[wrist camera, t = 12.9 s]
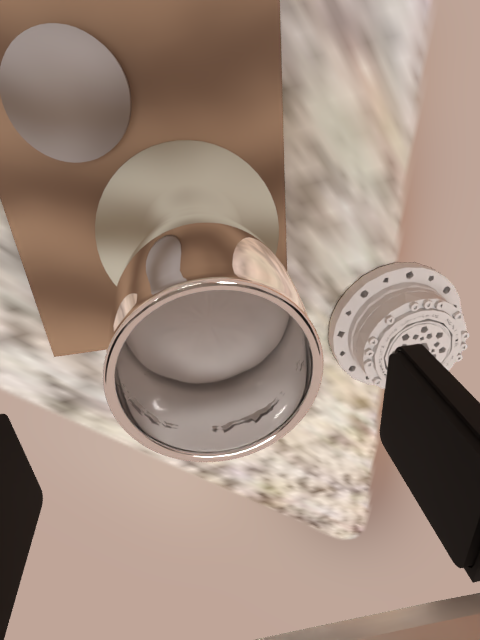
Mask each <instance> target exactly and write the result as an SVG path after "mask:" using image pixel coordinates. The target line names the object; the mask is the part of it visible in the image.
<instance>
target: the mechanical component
mask: <svg viewBox="0 0 480 640" xmlns="http://www.w3.org/2000/svg"><path fill="white" fill-rule="evenodd" d="M468 337H469V333H468V332H467V327H466V324H465V321H464V318H463V314H462V310H461V302H460V297H459V295H458V293H457V291H456V289H455V287H454V285H453V284H452V283H451V282H450V281H449V280H448V279H447V278H446V277H444V276H443V275H442V274H440V273H439V272H437V271H435V270H434V269H432V268H430V267H428V266H425V265H421V264H419V263H414V262H413V263H411V262H409V263H393V264H389V265H386V266H382V267H379V268H377V269H375V270H373V271H371V272H369V273H368V274H366V275H364V276H362V277H361V278H360V279H359V280H358V281H356V282H355V283H354V284H353V285H352V286H351V287H350V288H348V290H347V291H346V292H345V293H344V295H343V296H342V297H341V299H340V300H339V301H338V303H337V305H336V307H335V309H334V311H333V313H332V317H331V320H330V323H329V343H330V347H331V350H332V353H333V355H334V357H335V358H336V360H337V362H338V364H339V365H340V367H341V368H342V369H343V370H344V371H345V372H347V373H348V374H349V375H350V376H351V377H352V378H353V379H355V380H358V381H360V382H363V383H365V384H369V385H376V386H379V387H380V388H382V389H385V384H386V376H387V368H388V360H389V356H390V354H392V353H395V350H396V348H397V347H400V346H406V345H413V344H422V345H423V346H424V347H425V348H426V349H427V350H428V351H429V352H430V353H431V354H432V355H433V356H434V357H435V358H436V359H437V360H438V361H439V362H440V363H441V364H442V365H443V366H444V367H445V368H446V369H447V370H448V371H449V370H450V369H451V368H452V367H453V365H454V363H455V362H458V361H461V360H462V358H463V356H462V355H461V353H462V351H464V350H465V349H467V344H466V343H465V342H466V339H467V338H468Z"/></svg>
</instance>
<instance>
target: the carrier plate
mask: <svg viewBox="0 0 480 640" xmlns="http://www.w3.org/2000/svg"><path fill="white" fill-rule="evenodd" d="M184 184H199V185H204V186H208V187H211V188H213V189H216V190H217V191H219V192H221V193H222V194H224V195H225V196H226V197H227V198H228V199H229V200H230V201H231V202H232V203H233V204H234V206H235V207H236V209H237V210H238V212H239V214H240V217H241V220H242V223H243V226H244V227H246V228H247V229H248V230H250V231H251V232H252V233H253V234H255V235H256V236H257V237H259V238H260V239H261V240H262V241H263V242H264V243H265V244H266V245H267V246H268V247H269V248H270V249H271V250H272V252H273V253H274V254H275V256H276V257H277V258H278V259H279V261H280V262H281V263H282V265H283V266H284V268H285V269H286V271H287V254H286V217H285V180H284V142H283V105H282V68H281V31H280V0H0V199H1V202H2V205H3V207H4V210H5V213H6V216H7V219H8V222H9V225H10V228H11V231H12V234H13V237H14V240H15V243H16V246H17V249H18V252H19V255H20V257H21V260H22V263H23V266H24V269H25V272H26V275H27V278H28V281H29V284H30V287H31V290H32V293H33V296H34V299H35V302H36V305H37V307H38V310H39V313H40V316H41V319H42V322H43V325H44V328H45V331H46V334H47V337H48V340H49V343H50V346H51V349H52V352H53V355H54V357H56V356H63V355H70V354H77V353H84V352H91V351H99V350H106V349H107V337H108V327H109V318H110V313H111V308H112V303H113V298H114V294H115V290H116V287H117V284H118V282H119V279H120V276H121V274H122V271H123V269H124V267H125V265H126V263H127V261H128V259H129V258H130V256H131V255H132V253H133V252H134V250H135V249H136V248H137V246H138V245H139V244H140V242H141V241H142V239H141V229H142V223H143V219H144V216H145V214H146V211H147V210H148V208H149V206H150V205H151V203H152V202H153V201H154V200H155V199H156V198H157V197H158V196H159V195H161V194H162V193H163V192H165V191H167V190H168V189H171V188H173V187H176V186H179V185H184Z"/></svg>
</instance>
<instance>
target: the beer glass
mask: <svg viewBox="0 0 480 640" xmlns="http://www.w3.org/2000/svg"><path fill="white" fill-rule="evenodd" d="M141 239H142V241H141V242H140V244H139V245H138V246H137V248H136V249H135V250H134V252H133V253H132V255H131V256H130V258H129V259H128V261H127V263H126V265H125V267H124V269H123V271H122V274H121V276H120V279H119V282H118V284H117V287H116V290H115V294H114V298H113V303H112V308H111V313H110V318H109V327H108V337H107V352H106V356H105V360H104V367H103V386H104V392H105V396H106V400H107V403H108V405H109V408H110V410H111V412H112V414H113V415H114V417H115V418H116V420H117V421H118V423H119V424H120V425H121V426H122V428H123V429H124V430H125V431H126V432H127V433H128V434H129V435H130V436H131V437H133V438H134V439H135V440H137V441H138V442H139V443H141V444H142V445H144V446H146V447H147V448H149V449H151V450H153V451H155V452H157V453H160V454H162V455H165V456H168V457H172V458H176V459H180V460H186V461H194V462H216V461H225V460H231V459H235V458H239V457H243V456H246V455H249V454H252V453H255V452H257V451H259V450H262V449H264V448H266V447H268V446H269V445H271V444H273V443H275V442H276V441H278V440H279V439H281V438H282V437H283V436H285V435H286V434H287V433H288V432H290V431H291V430H292V429H293V428H294V427H295V426H296V425H297V424H298V423H299V422H300V421H301V420H302V418H303V417H304V416H305V415H306V413H307V412H308V410H309V409H310V407H311V405H312V404H313V402H314V400H315V398H316V396H317V393H318V391H319V388H320V384H321V380H322V375H323V352H322V347H321V343H320V340H319V337H318V334H317V332H316V330H315V328H314V326H313V324H312V323H311V321H310V320H309V317H308V315H307V312H306V310H305V307H304V305H303V303H302V300H301V298H300V296H299V294H298V292H297V289H296V287H295V285H294V284H293V282H292V280H291V278H290V276H289V275H288V273H287V271H286V269H285V268H284V266H283V265H282V263H281V262H280V261H279V259H278V258H277V257H276V256H275V254H274V253H273V252H272V250H271V249H270V248H269V247H268V246H267V245H266V244H265V243H264V242H263V241H262V240H261V239H260V238H259V237H257V236H256V235H255V234H253V233H252V232H251V231H250V230H248V229H247V228H246V227H244V226H243V223H242V220H241V217H240V214H239V212H238V210H237V209H236V207H235V206H234V204H233V203H232V202H231V201H230V200H229V199H228V198H227V197H226V196H225V195H224V194H222V193H221V192H219V191H217V190H216V189H213V188H211V187H208V186H204V185H199V184H184V185H179V186H176V187H173V188H171V189H168V190H167V191H165V192H163V193H162V194H161V195H159V196H158V197H157V198H156V199H155V200H154V201H153V202H152V203H151V205H150V206H149V208H148V210H147V211H146V214H145V216H144V219H143V223H142V229H141Z"/></svg>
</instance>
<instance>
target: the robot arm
mask: <svg viewBox="0 0 480 640" xmlns="http://www.w3.org/2000/svg"><path fill="white" fill-rule="evenodd" d="M380 437H381V441H382V444H383V445H384V447H385V449H386V451H387V452H388V454H389V456H390V457H391V459H392V461H393V462H394V464H395V466H396V467H397V469H398V471H399V472H400V474H401V476H402V477H403V479H404V481H405V482H406V484H407V486H408V487H409V489H410V491H411V492H412V494H413V496H414V497H415V499H416V501H417V502H418V504H419V506H420V507H421V509H422V511H423V512H424V514H425V516H426V517H427V519H428V521H429V522H430V524H431V526H432V527H433V529H434V531H435V532H436V534H437V536H438V537H439V539H440V541H441V542H442V544H443V546H444V547H445V549H446V550H447V552H448V554H449V556H450V557H451V559H452V561H453V562H454V563H455V565H456V566H458V567H459V568H464V569H465V570H466V572H467V574H468V575H469V577H470V579H471V580H472V582H477V581H480V403H479V402H478V401H477V400H476V399H475V398H474V397H473V396H472V395H471V394H470V393H469V392H468V391H467V390H466V389H465V388H464V387H463V386H462V384H461V383H460V382H458V380H457V379H456V378H455V377H454V376H453V375H452V374H451V373H450V372H449V371H448V370H447V369H446V368H445V367H444V366H443V365H442V364H441V363H440V362H439V361H438V360H437V359H436V358H435V357H434V356H433V355H432V354H431V353H430V352H429V351H428V350H427V349H426V348H425V347H424V346H423V345H422V344H413V345H406V346H400V347H397V348H396V350H395V353H392V354H390V356H389V360H388V368H387V376H386V384H385V392H384V401H383V409H382V417H381V425H380ZM42 501H43V495H42V490H41V488H40V486H39V484H38V481H37V479H36V477H35V475H34V472H33V470H32V468H31V466H30V464H29V462H28V460H27V457H26V455H25V453H24V451H23V448H22V446H21V444H20V442H19V440H18V438H17V435H16V434H15V431H14V429H13V427H12V424H11V422H10V421H9V418H8V416H7V415H5V414H0V640H4V637H5V633H6V630H7V626H8V623H9V619H10V616H11V612H12V609H13V605H14V602H15V598H16V595H17V591H18V588H19V584H20V580H21V577H22V574H23V570H24V566H25V563H26V560H27V556H28V553H29V549H30V546H31V542H32V539H33V535H34V531H35V528H36V524H37V521H38V518H39V514H40V510H41V507H42ZM257 640H480V593H477V594H473V595H467V596H461V597H456V598H451V599H446V600H441V601H435V602H431V603H426V604H422V605H416V606H412V607H407V608H402V609H398V610H393V611H388V612H383V613H379V614H374V615H369V616H364V617H359V618H355V619H350V620H345V621H341V622H336V623H331V624H326V625H321V626H317V627H312V628H307V629H303V630H299V631H293V632H289V633H284V634H280V635H275V636H270V637H266V638H261V639H257Z"/></svg>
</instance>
